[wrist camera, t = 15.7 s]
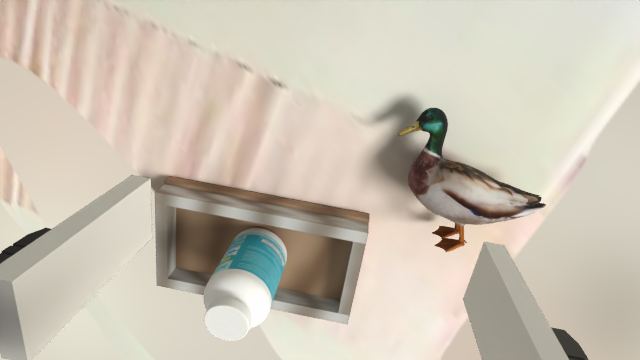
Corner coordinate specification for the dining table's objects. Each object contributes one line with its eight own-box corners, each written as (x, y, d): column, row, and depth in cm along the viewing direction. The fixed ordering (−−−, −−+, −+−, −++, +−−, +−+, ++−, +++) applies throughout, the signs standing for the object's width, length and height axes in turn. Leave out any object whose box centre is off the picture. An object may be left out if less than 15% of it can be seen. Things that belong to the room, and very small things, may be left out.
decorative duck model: (397, 116, 39) (567, 102, 36) (396, 106, 46) (538, 94, 43) (404, 255, 43) (557, 253, 40) (402, 227, 50) (532, 223, 47)
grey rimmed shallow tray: (170, 270, 58) (156, 288, 54) (170, 176, 52) (154, 188, 48) (348, 306, 56) (346, 327, 53) (369, 213, 50) (369, 229, 47)
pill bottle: (242, 216, 51) (201, 282, 39) (296, 238, 51) (272, 310, 39) (226, 261, 54) (183, 335, 42) (277, 281, 54) (249, 361, 42)
